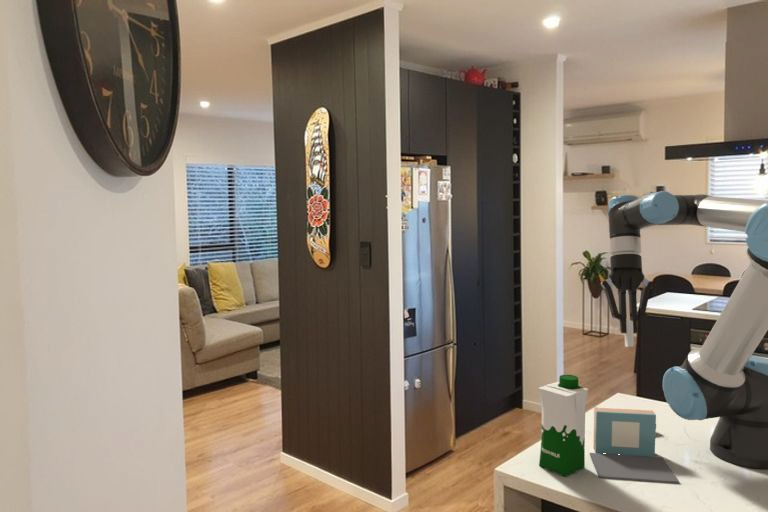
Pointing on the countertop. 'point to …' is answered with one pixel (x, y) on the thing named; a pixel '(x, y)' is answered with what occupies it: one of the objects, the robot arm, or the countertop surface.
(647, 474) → the rubber mat
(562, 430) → the milk carton
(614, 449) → the terracotta tile
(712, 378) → the robot arm
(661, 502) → the countertop surface
